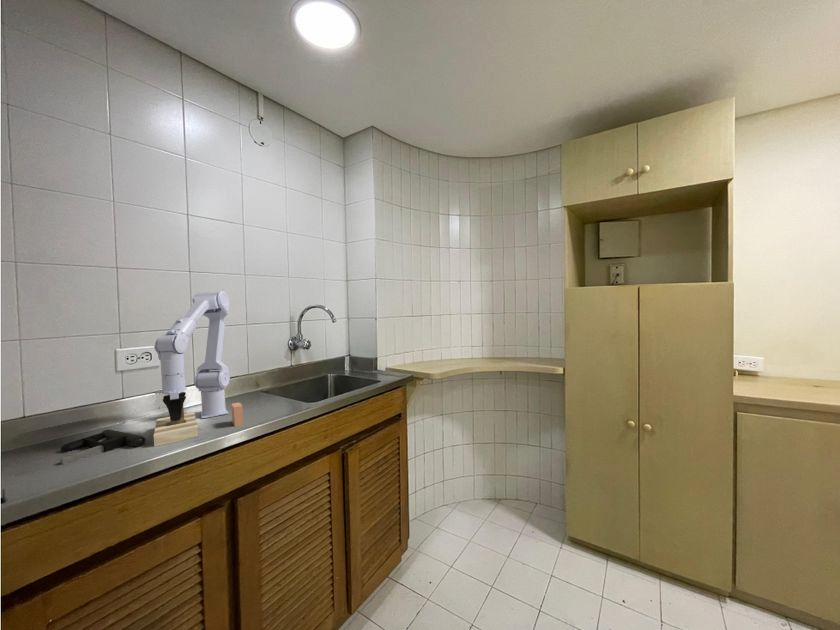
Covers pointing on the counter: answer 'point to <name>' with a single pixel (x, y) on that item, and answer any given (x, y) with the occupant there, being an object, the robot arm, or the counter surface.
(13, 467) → the counter surface
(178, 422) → the walnut peg
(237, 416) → the salmon brown flat block
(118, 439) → the door handle
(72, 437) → the counter surface
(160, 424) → the socket block
